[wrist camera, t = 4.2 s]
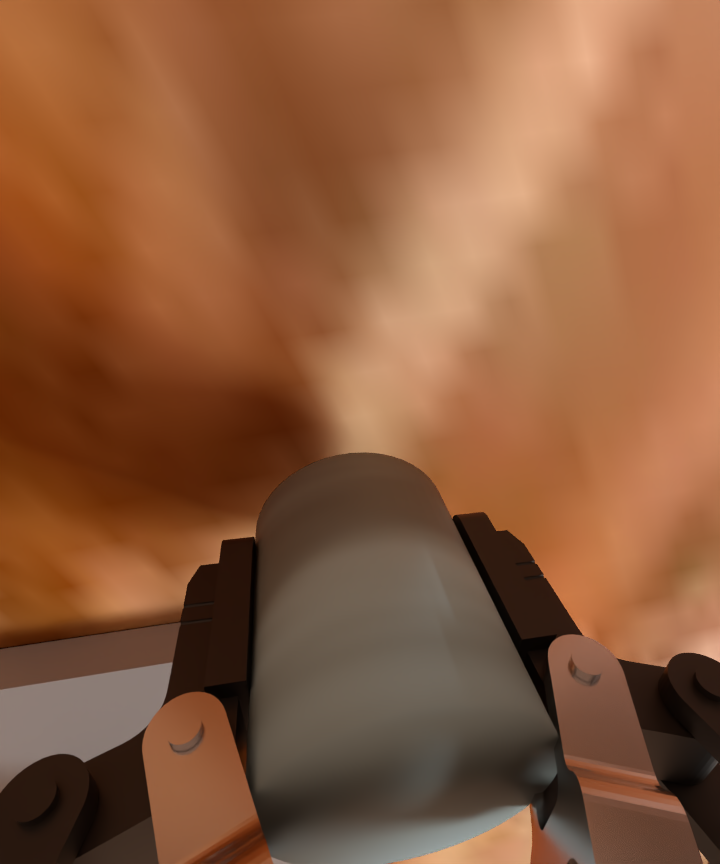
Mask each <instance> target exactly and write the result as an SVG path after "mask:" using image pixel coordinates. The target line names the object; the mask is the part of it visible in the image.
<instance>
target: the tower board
mask: <svg viewBox="0 0 720 864" xmlns="http://www.w3.org/2000/svg"><path fill="white" fill-rule="evenodd" d="M180 626H181V622H179V623H172V624H165V625H159V626H152V627H145V628H138V629H132V630H125V631H118V632H112V633H105V634H98V635H92V636H85V637H78V638H71V639H65V640H58V641H51V642H45V643H38V644H31V645H24V646H18V647H11V648H4V649H0V793H1V791H2V790H3V789H4V788H5V787H6V785H7V784H8V783H9V782H10V781H11V780H12V779H13V778H14V777H15V776H16V775H17V774H19V773H20V772H21V771H22V770H24V769H25V768H26V767H28V766H29V765H31V764H33V763H34V762H36V761H38V760H40V759H42V758H45V757H48V756H51V755H56V754H70V755H74V756H76V757H78V758H80V759H81V760H82V761H83V762H86V761H88V760H90V759H92V758H94V757H96V756H98V755H100V754H102V753H104V752H106V751H109V750H111V749H113V748H115V747H117V746H119V745H121V744H123V743H125V742H126V741H128V740H130V739H132V738H133V737H134V736H136V735H137V734H139V733H140V732H141V731H142V730H143V729H144V728H146V727H147V725H148V724H149V723H150V721H151V720H152V718H153V717H154V715H155V714H156V713H157V712H158V711H159V710H160V708H161V707H162V705H163V702H164V700H165V697H166V693H167V689H168V684H169V679H170V674H171V669H172V663H173V658H174V653H175V648H176V643H177V637H178V632H179V627H180ZM271 858H272V861H273V864H291V863H287V862H284V861H281V860H278V859H275V858H273V857H271Z"/></svg>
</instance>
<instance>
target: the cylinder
mask: <svg viewBox="0 0 720 864" xmlns="http://www.w3.org/2000/svg"><path fill="white" fill-rule="evenodd" d="M255 543H256V553H255V578H254V604H253V629H252V654H251V679H250V700H249V708H248V732H247V756H246V780H247V783H248V786H249V789H250V793H251V796H252V799H253V802H254V806H255V809H256V812H257V815H258V819H259V822H260V825H261V828H262V831H263V833H264V836H265V839H266V842H267V845H268V848H269V852H270V855H271V857H273V858H275V859H278V860H281V861H284V862H287V863H291V864H387V863H392V862H398V861H403V860H407V859H411V858H415V857H419V856H423V855H426V854H430V853H433V852H437V851H440V850H443V849H445V848H448V847H451V846H454V845H457V844H459V843H462V842H464V841H467V840H469V839H471V838H474V837H476V836H478V835H480V834H482V833H484V832H486V831H488V830H490V829H492V828H494V827H496V826H498V825H500V824H501V823H503V822H505V821H506V820H508V819H510V818H511V817H513V816H514V815H516V814H517V813H519V812H520V811H521V810H523V809H524V808H526V807H527V806H528V805H529V804H530V803H531V801H532V799H533V797H534V794H536V793H541V792H543V791H544V790H545V789H546V788H547V787H548V786H549V784H550V783H551V782H552V781H553V779H554V778H555V776H556V774H557V767H556V761H555V754H554V747H555V745H556V742H557V740H558V738H559V735H558V733H557V731H556V729H555V727H554V725H553V723H552V721H551V719H550V717H549V715H548V713H547V711H546V709H545V707H544V704H543V702H542V700H541V698H540V696H539V694H538V692H537V690H536V688H535V686H534V684H533V682H532V680H531V678H530V676H529V674H528V672H527V670H526V668H525V666H524V664H523V662H522V660H521V658H520V656H519V654H518V652H517V650H516V648H515V646H514V644H513V642H512V640H511V637H510V635H509V633H508V631H507V629H506V627H505V625H504V623H503V621H502V619H501V617H500V615H499V613H498V611H497V609H496V607H495V605H494V603H493V601H492V599H491V597H490V595H489V593H488V591H487V589H486V587H485V585H484V583H483V581H482V579H481V577H480V575H479V573H478V570H477V568H476V566H475V564H474V562H473V560H472V558H471V556H470V554H469V552H468V550H467V548H466V546H465V544H464V542H463V540H462V538H461V536H460V534H459V532H458V530H457V528H456V526H455V524H454V522H453V520H452V518H451V516H450V514H449V512H448V510H447V508H446V506H445V503H444V501H443V499H442V497H441V495H440V493H439V491H438V490H437V488H436V486H435V485H434V483H433V482H432V481H431V479H430V478H429V477H428V476H427V475H426V474H425V473H423V472H422V471H421V470H420V469H418V468H417V467H415V466H414V465H412V464H410V463H408V462H406V461H404V460H401V459H398V458H395V457H392V456H388V455H383V454H377V453H349V454H342V455H336V456H333V457H329V458H325V459H322V460H319V461H317V462H314V463H312V464H310V465H308V466H306V467H304V468H302V469H300V470H298V471H297V472H295V473H294V474H292V475H291V476H289V477H288V478H287V479H286V480H284V481H283V482H282V483H281V484H280V485H279V486H278V487H277V488H276V489H275V490H274V491H273V492H272V494H271V495H270V496H269V498H268V499H267V501H266V502H265V504H264V506H263V508H262V510H261V512H260V515H259V518H258V521H257V527H256V539H255Z"/></svg>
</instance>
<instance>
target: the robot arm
mask: <svg viewBox="0 0 720 864" xmlns="http://www.w3.org/2000/svg"><path fill="white" fill-rule="evenodd" d="M452 520H453V522H454V524H455V526H456V528H457V530H458V532H459V534H460V536H461V538H462V540H463V542H464V544H465V546H466V548H467V550H468V552H469V554H470V556H471V558H472V560H473V562H474V564H475V566H476V568H477V570H478V573H479V575H480V577H481V579H482V581H483V583H484V585H485V587H486V589H487V591H488V593H489V595H490V597H491V599H492V601H493V603H494V605H495V607H496V609H497V611H498V613H499V615H500V617H501V619H502V621H503V623H504V625H505V627H506V629H507V631H508V633H509V635H510V637H511V640H512V642H513V644H514V646H515V648H516V650H517V652H518V654H519V656H520V658H521V660H522V662H523V664H524V666H525V668H526V670H527V672H528V674H529V676H530V678H531V680H532V682H533V684H534V686H535V688H536V690H537V692H538V694H539V696H540V698H541V700H542V702H543V704H544V707H545V709H546V711H547V713H548V715H549V717H550V719H551V721H552V723H553V725H554V727H555V729H556V731H557V733H558V735H559V738H558V740H557V742H556V745H555V747H554V754H555V761H556V767H557V774H556V776H555V778H554V779H553V781H552V782H551V783H550V784H549V786H548V787H547V788H546V789H545V790H544V791H543V792H541V793H536V794H534V797H533V799H532V801H531V803H530V813H531V823H532V852H531V864H703V862H702V859H701V856H700V853H699V850H700V852H701V853H702V854H703V855H704V857H705V858H706V859H707V860H708V861H709V863H710V864H720V663H719V662H718V661H716V660H714V659H712V658H709V657H707V656H704V655H700V654H695V653H681V654H678V655H676V656H674V657H673V658H672V659H671V660H670V661H669V663H668V665H667V667H660V666H654V665H648V664H642V663H635V662H629V661H625V660H621V659H618V658H616V657H615V656H614V655H613V654H612V653H611V652H610V651H609V650H608V649H607V648H606V647H604V646H603V645H601V644H600V643H598V642H597V641H595V640H593V639H591V638H588V637H585V636H583V635H582V633H581V632H580V630H579V629H578V627H577V626H576V624H575V623H574V621H573V620H572V618H571V617H570V615H569V613H568V612H567V610H566V609H565V607H564V606H563V604H562V603H561V601H560V599H559V598H558V596H557V595H556V593H555V592H554V590H553V589H552V587H551V585H550V584H549V582H548V581H547V579H546V578H544V576H543V573H542V571H541V570H540V568H539V567H538V565H537V564H535V561H534V559H533V557H532V556H531V554H530V553H529V551H528V550H527V548H526V546H525V545H524V544H523V543H522V542H521V541H520V540H518V539H517V538H516V537H515V536H513V535H512V534H511V533H510V532H508V531H507V530H505V531H496V530H495V528H494V526H493V525H492V523H491V521H490V520H489V518H488V516H487V515H486V514H485V513H484V512H479V513H470V514H461V515H455V516H454V517H453V519H452ZM255 553H256V543H255V538H254V537H248V538H239V539H230V540H223V541H222V545H221V552H220V560H219V563H218V564H209V565H201V566H200V567H199V568H198V570H197V571H196V573H195V574H194V576H193V577H192V579H191V580H190V582H189V583H188V585H187V591H186V596H185V601H184V609H183V611H182V617H181V626H180V627H179V632H178V637H177V643H176V648H175V653H174V658H173V663H172V669H171V674H170V679H169V684H168V689H167V693H166V697H165V700H164V702H163V705H162V707H161V708H160V710H159V711H158V712H157V713H156V714H155V715H154V717H153V718H152V720H151V721H150V723H149V724H148V725H147V727H146V728H144V729H143V730H142V731H141V732H140V733H139V734H137V735H136V736H134V737H133V738H132V739H130V740H128V741H126V742H125V743H123V744H121V745H119V746H117V747H115V748H113V749H111V750H109V751H106V752H104V753H102V754H100V755H98V756H96V757H94V758H92V759H90V760H88V761H86V762H83V761H82V760H81V759H80V758H78V757H76V756H74V755H70V754H56V755H51V756H48V757H45V758H42V759H40V760H38V761H36V762H34V763H33V764H31V765H29V766H28V767H26V768H25V769H24V770H22V771H21V772H20V773H19V774H17V775H16V776H15V777H14V778H13V779H12V780H11V781H10V782H9V783H8V784H7V785H6V787H5V788H4V789H3V790H2V791H1V793H0V864H273V861H272V858H271V855H270V852H269V848H268V845H267V842H266V839H265V836H264V833H263V831H262V828H261V825H260V822H259V819H258V815H257V812H256V809H255V806H254V802H253V799H252V796H251V793H250V789H249V786H248V783H247V780H246V756H247V732H248V708H249V700H250V679H251V654H252V629H253V604H254V578H255ZM698 849H699V850H698Z"/></svg>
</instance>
